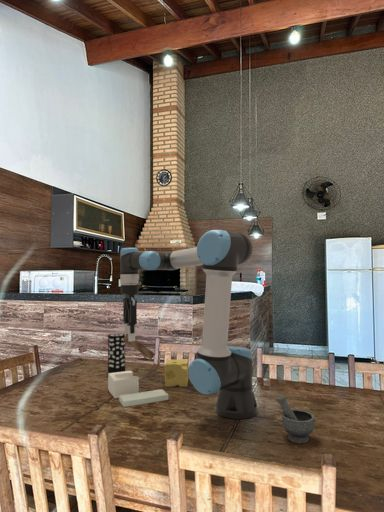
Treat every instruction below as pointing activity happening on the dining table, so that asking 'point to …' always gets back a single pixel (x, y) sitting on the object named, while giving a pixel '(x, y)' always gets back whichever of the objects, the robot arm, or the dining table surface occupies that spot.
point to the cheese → (176, 373)
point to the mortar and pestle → (296, 422)
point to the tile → (140, 347)
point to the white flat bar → (143, 397)
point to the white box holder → (122, 383)
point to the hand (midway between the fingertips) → (129, 339)
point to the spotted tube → (116, 353)
